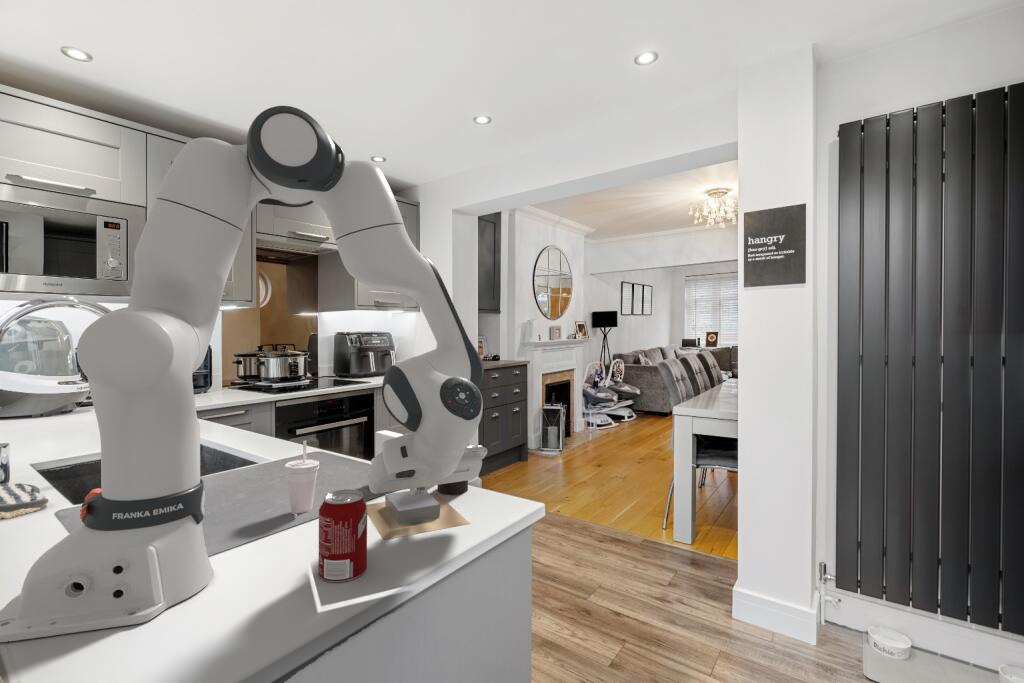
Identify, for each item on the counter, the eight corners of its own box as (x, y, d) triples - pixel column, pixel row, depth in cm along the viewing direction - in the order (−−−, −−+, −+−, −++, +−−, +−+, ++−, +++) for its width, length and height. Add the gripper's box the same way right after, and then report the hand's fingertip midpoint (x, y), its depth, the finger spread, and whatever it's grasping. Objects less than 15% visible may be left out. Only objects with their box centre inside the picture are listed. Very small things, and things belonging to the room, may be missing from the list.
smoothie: (326, 510, 98) (326, 440, 97) (297, 521, 92) (297, 447, 92) (306, 503, 101) (306, 436, 101) (277, 513, 96) (277, 442, 95)
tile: (398, 511, 90) (385, 494, 99) (398, 524, 90) (385, 506, 99) (440, 504, 94) (423, 488, 103) (439, 517, 94) (423, 500, 103)
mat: (383, 543, 84) (383, 539, 84) (362, 508, 99) (362, 505, 99) (470, 526, 91) (470, 523, 91) (437, 496, 107) (437, 493, 107)
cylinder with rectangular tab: (363, 485, 114) (363, 433, 113) (395, 476, 121) (395, 428, 120) (386, 494, 108) (386, 440, 108) (418, 484, 115) (419, 433, 114)
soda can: (351, 590, 69) (352, 505, 68) (308, 584, 70) (309, 501, 70) (374, 567, 75) (375, 489, 75) (334, 562, 77) (335, 486, 76)
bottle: (473, 491, 111) (475, 403, 110) (455, 499, 105) (456, 407, 105) (450, 485, 114) (451, 400, 114) (431, 493, 109) (432, 404, 108)
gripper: (485, 431, 91) (464, 469, 100) (373, 441, 81) (361, 483, 90) (495, 460, 87) (472, 497, 96) (380, 475, 77) (366, 515, 86)
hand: (417, 490), depth 93 cm, fingers closed
